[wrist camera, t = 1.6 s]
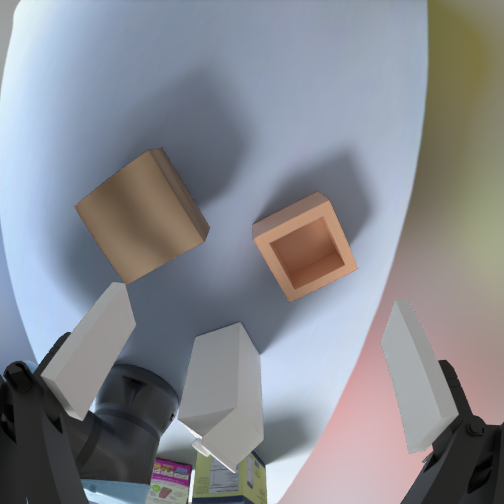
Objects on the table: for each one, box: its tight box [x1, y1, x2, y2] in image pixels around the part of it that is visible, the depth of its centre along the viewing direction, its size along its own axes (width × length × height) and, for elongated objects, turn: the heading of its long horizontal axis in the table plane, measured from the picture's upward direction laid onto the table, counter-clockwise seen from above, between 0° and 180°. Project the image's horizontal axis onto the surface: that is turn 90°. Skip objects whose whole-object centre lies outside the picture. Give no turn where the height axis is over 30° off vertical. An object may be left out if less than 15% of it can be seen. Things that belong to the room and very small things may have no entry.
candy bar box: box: [145, 458, 192, 504], centre depth 50 cm, size 11×5×16 cm, turn 76°
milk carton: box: [178, 322, 264, 473], centre depth 33 cm, size 7×7×19 cm
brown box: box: [74, 148, 210, 286], centre depth 29 cm, size 10×10×4 cm
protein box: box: [192, 450, 267, 504], centre depth 47 cm, size 10×16×16 cm
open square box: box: [252, 191, 358, 303], centre depth 33 cm, size 9×9×5 cm
